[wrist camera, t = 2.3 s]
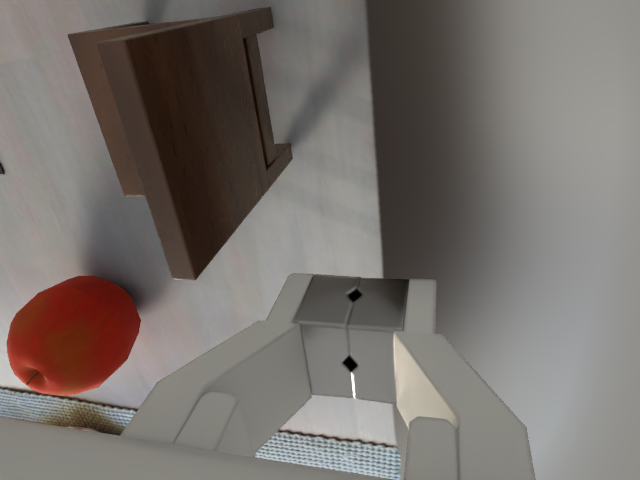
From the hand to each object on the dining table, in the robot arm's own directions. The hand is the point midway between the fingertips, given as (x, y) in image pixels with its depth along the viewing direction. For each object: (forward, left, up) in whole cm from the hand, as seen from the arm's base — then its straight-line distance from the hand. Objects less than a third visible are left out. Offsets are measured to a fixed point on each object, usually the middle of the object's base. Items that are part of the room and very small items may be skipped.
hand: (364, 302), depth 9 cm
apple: (+34, -13, -23) cm, 44 cm away
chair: (+8, -11, -23) cm, 27 cm away
